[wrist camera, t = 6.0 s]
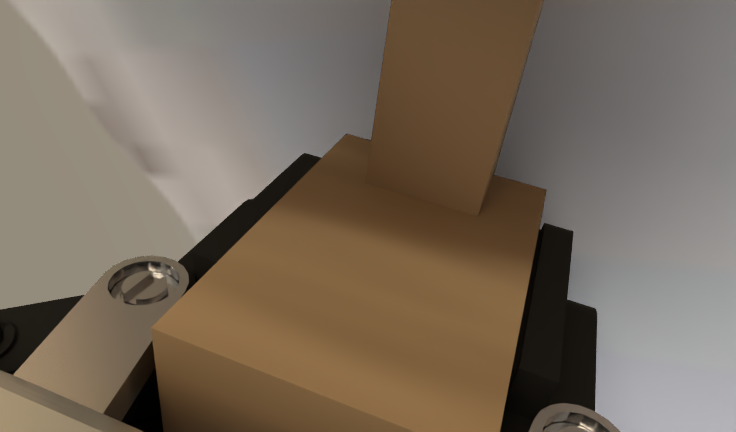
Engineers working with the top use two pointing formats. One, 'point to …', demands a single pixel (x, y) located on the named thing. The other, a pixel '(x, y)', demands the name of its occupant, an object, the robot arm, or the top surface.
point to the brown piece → (378, 258)
